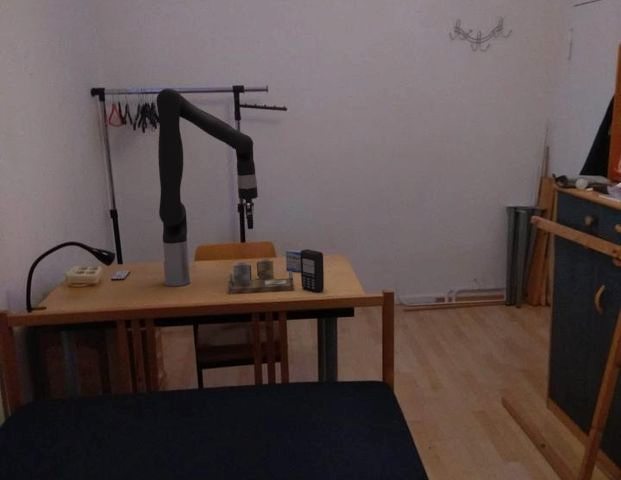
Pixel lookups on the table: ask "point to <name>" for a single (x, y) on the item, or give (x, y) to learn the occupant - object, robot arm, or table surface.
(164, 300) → the table surface
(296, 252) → the medicine box
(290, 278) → the rail
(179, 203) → the robot arm
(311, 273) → the card reader
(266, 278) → the finger block
